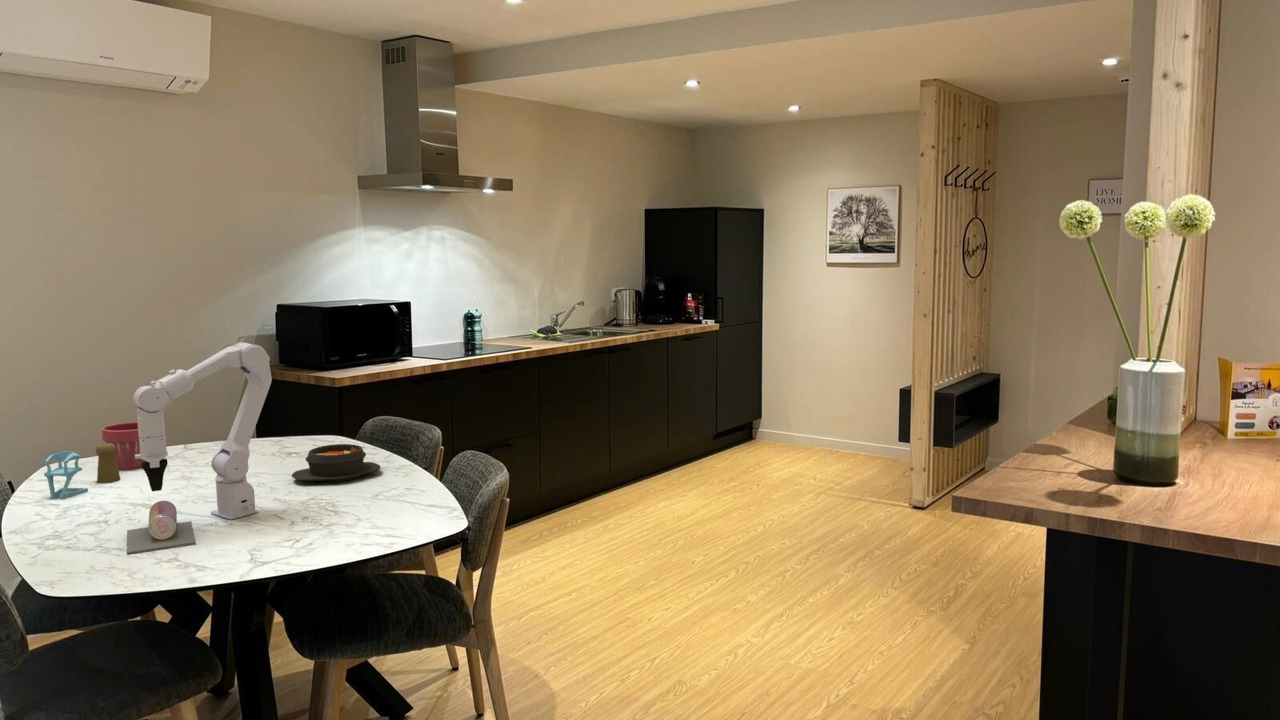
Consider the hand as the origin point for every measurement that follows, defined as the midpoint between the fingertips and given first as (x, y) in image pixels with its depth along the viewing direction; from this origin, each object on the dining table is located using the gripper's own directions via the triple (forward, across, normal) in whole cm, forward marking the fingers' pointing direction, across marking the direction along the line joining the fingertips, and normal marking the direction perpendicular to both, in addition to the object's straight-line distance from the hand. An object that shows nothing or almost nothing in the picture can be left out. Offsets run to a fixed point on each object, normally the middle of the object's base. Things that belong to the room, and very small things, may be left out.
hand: (156, 490), depth 226 cm
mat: (+9, +9, 0) cm, 13 cm away
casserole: (+10, -27, +47) cm, 55 cm away
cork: (+10, -57, -12) cm, 59 cm away
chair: (+10, -45, -22) cm, 51 cm away
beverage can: (+6, -2, +1) cm, 7 cm away
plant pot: (+10, -73, -6) cm, 74 cm away
